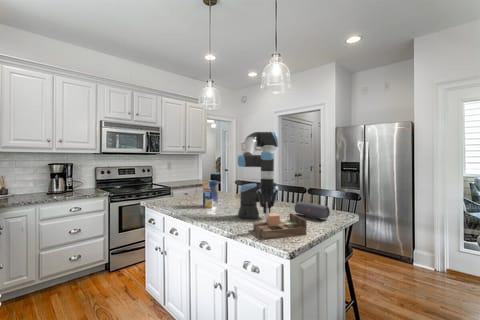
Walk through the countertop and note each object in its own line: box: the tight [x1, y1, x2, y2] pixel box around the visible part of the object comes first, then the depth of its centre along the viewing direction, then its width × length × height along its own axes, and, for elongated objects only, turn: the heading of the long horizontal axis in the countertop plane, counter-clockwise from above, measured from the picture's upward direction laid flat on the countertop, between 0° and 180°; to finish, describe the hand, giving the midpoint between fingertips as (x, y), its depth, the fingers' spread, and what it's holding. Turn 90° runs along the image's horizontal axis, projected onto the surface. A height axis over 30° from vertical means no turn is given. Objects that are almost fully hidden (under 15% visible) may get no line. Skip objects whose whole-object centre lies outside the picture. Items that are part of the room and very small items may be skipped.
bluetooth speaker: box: [294, 201, 330, 220], centre depth 167 cm, size 23×9×10 cm, turn 45°
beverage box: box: [202, 179, 219, 209], centre depth 201 cm, size 7×11×22 cm, turn 50°
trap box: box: [252, 212, 307, 240], centre depth 135 cm, size 16×25×8 cm, turn 108°
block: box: [265, 212, 281, 225], centre depth 138 cm, size 6×6×5 cm
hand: (266, 218), depth 137 cm, fingers closed
